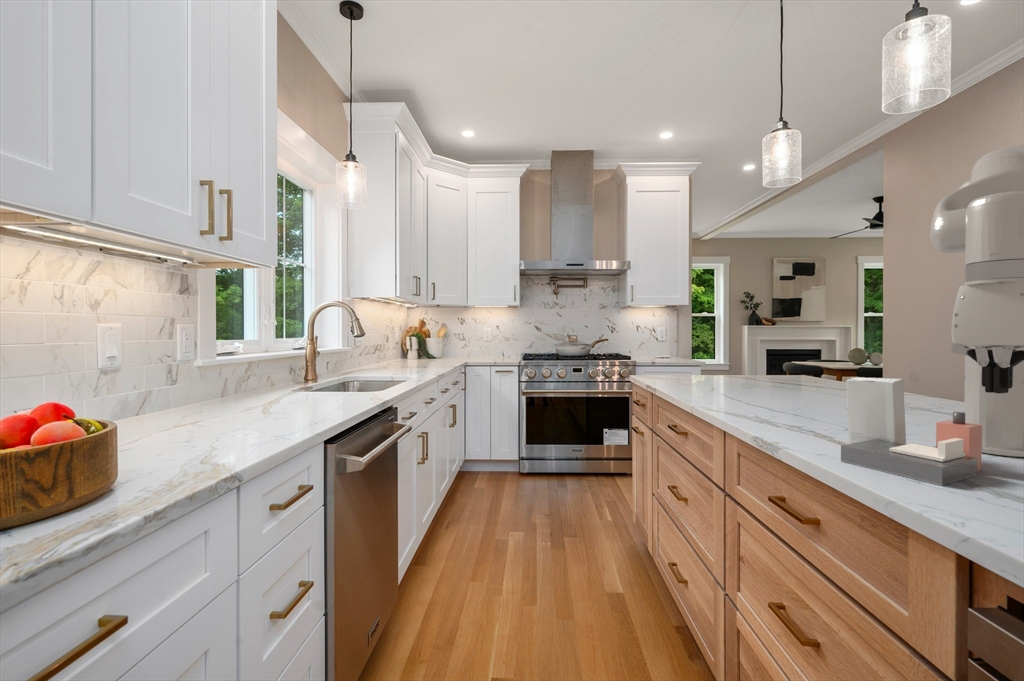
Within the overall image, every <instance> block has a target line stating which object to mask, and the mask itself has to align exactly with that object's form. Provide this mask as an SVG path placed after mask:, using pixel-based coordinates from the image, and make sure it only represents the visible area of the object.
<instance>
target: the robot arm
mask: <svg viewBox="0 0 1024 681" xmlns="http://www.w3.org/2000/svg"><path fill="white" fill-rule="evenodd" d="M932 214H933V215H932V219H931V223H930V229H929V238H930V239H929V240H930V243H931V246H932V247H933V249H934V250H936V251H937V252H939V253H942V254H958V253H964V285H959V288H958V290H957V294H956V297H955V301H954V306H953V312H952V318H951V319H952V320H951V332H950V335H951V338H950V339H951V340H952V346H951V350H950V351H951V352H952V353H954V354H959V355H963V356H964V397H963V398H964V402H963V403H964V405H963V406H964V409H963V410H964V413H965V422H966V423H973V424H981V425H982V453H984V454H990V455H997V456H1006V457H1015V458H1017V457H1018V458H1024V349H1022V348H1024V143H1021V144H1015V145H1010V146H1006V147H1002V148H999V149H996V150H992V151H990V152H988V153H986V154H983V155H982V157H980V158H979V159H977V161H976V162H975V164H974V165H973V166H972V168H971V172H970V179H969V180H967V181H965V182H964V183H962V185H960V187H958V189H957V190H955V191H953V192H951V193H949V194H948V195H946V196H945V197H944V198H942V199H941V200H940V201H939V203H937V205H936V206H935V209H934V212H933V213H932Z"/></svg>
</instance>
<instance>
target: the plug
mask: <svg viewBox="0 0 1024 681" xmlns="http://www.w3.org/2000/svg"><path fill="white" fill-rule="evenodd" d="M935 425H936V427H935V428H936V432H935V438H936V439H935V440H936V441H935V448H938V442H939V441H944V440H949V439H953V438H959V439H963V453H965V456H969V457H975V458H977V470H979V471H982V453H983V452H982V425H981V424H973V423H966V422H965V413H964V412H963V411H952V420H950V419H948V420H942V421H937V422H936V424H935Z"/></svg>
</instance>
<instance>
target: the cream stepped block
mask: <svg viewBox="0 0 1024 681" xmlns="http://www.w3.org/2000/svg"><path fill="white" fill-rule="evenodd" d="M889 451H892V452H897V453H902V454H907V455H912V456H917V457H921V458H926V459H931V460H936V461H941V462H944V461H948V460H952V459H956V458H960V457H964V456H965V453H963V439H959V438H953V439H949V440H944V441H939V442H938V448H936V446H935V447H933V446H928V445H923V444H917V443H909V444H908V443H906V445H902V446H897V447H893V448H889Z"/></svg>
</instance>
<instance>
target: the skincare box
mask: <svg viewBox="0 0 1024 681" xmlns="http://www.w3.org/2000/svg"><path fill="white" fill-rule="evenodd" d="M845 383H846V407H847V408H846V409H847V427H848V428H847V430H848V444H852V443H857V442H862V441H868V440H873V439H879V440H885V441H890V442H895V443H901V444H906V445H907V435H906V433H907V432H906V414H905V413H906V411H905V390H904V387H905V386H904V378H888V377H887V378H884V377H883V378H882V377H880V378H879V377H858V376H857V377H852V378H849V379H846V380H845Z"/></svg>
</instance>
